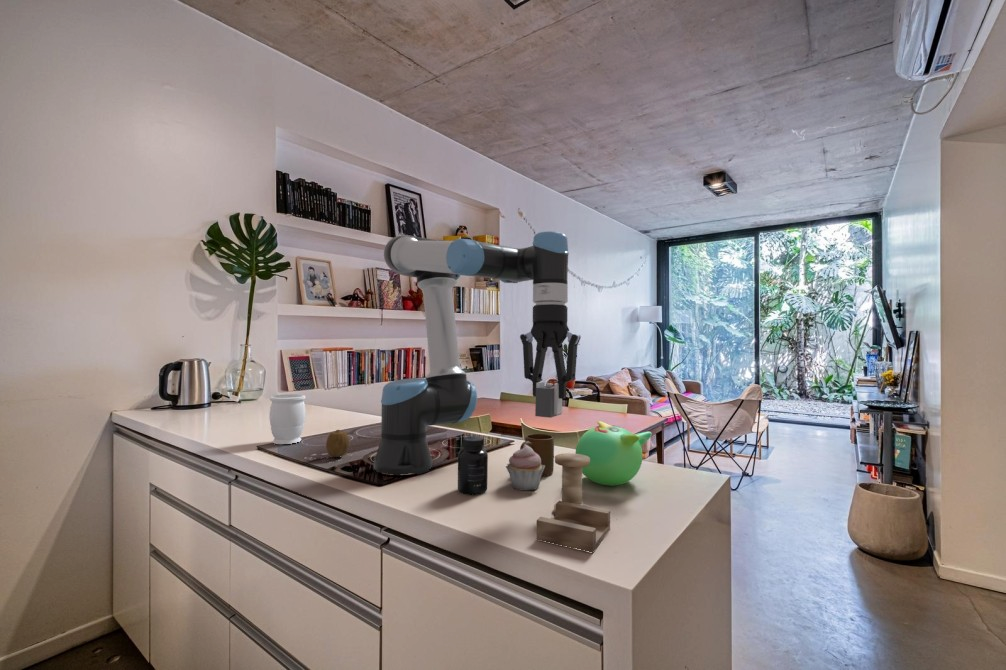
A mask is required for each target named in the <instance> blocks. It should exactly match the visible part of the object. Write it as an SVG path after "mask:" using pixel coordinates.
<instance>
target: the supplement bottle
mask: <svg viewBox="0 0 1006 670" xmlns="http://www.w3.org/2000/svg"><path fill="white" fill-rule="evenodd" d="M484 440H485V439H484V438H483V437H481V436H475V435H474V436H473V435H472V436H470V435H469V436H465V437H463V438H462V445H461V447H462V449H460V450H459V452H458V454H457V491H458V492H459V493H460V494H462V495H465V496H478V495H482V494H484V493H487V491H488V474H489V472H488V469H489V467H488V466H489V465H488V464H489V454H488V452H487V450H485V449H484V447H485V443H484V442H485V441H484Z"/></svg>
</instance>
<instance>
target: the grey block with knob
mask: <svg viewBox="0 0 1006 670" xmlns="http://www.w3.org/2000/svg"><path fill="white" fill-rule="evenodd" d="M534 413H535V415H534V416H535V417H540V418H550V419H551V418H554V417H557V416H560V415H561V414H558V415H555V414H554V386H553V383H551V382H550V383H549V382H547V383H545V385H544V387H538V388H536V397H535V411H534Z"/></svg>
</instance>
